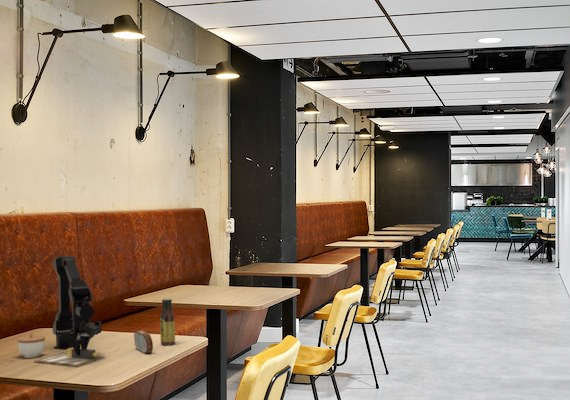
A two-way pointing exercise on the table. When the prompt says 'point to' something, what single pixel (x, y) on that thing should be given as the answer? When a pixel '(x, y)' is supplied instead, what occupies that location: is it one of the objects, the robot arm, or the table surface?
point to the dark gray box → (82, 353)
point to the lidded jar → (31, 345)
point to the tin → (143, 341)
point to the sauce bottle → (167, 323)
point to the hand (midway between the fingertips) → (81, 354)
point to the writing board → (66, 360)
